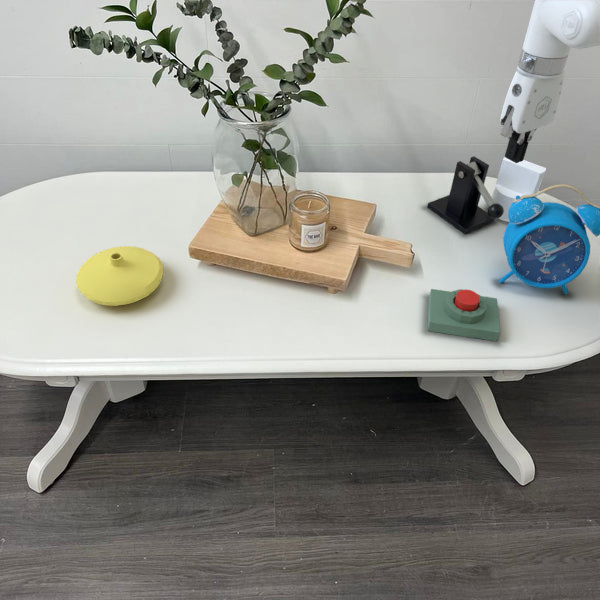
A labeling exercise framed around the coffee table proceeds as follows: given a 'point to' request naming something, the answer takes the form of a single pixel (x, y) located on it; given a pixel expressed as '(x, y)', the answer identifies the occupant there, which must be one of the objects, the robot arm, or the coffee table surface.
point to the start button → (467, 300)
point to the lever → (486, 194)
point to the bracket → (463, 199)
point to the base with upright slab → (516, 182)
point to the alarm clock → (548, 240)
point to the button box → (463, 316)
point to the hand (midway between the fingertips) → (513, 159)
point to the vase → (119, 275)
